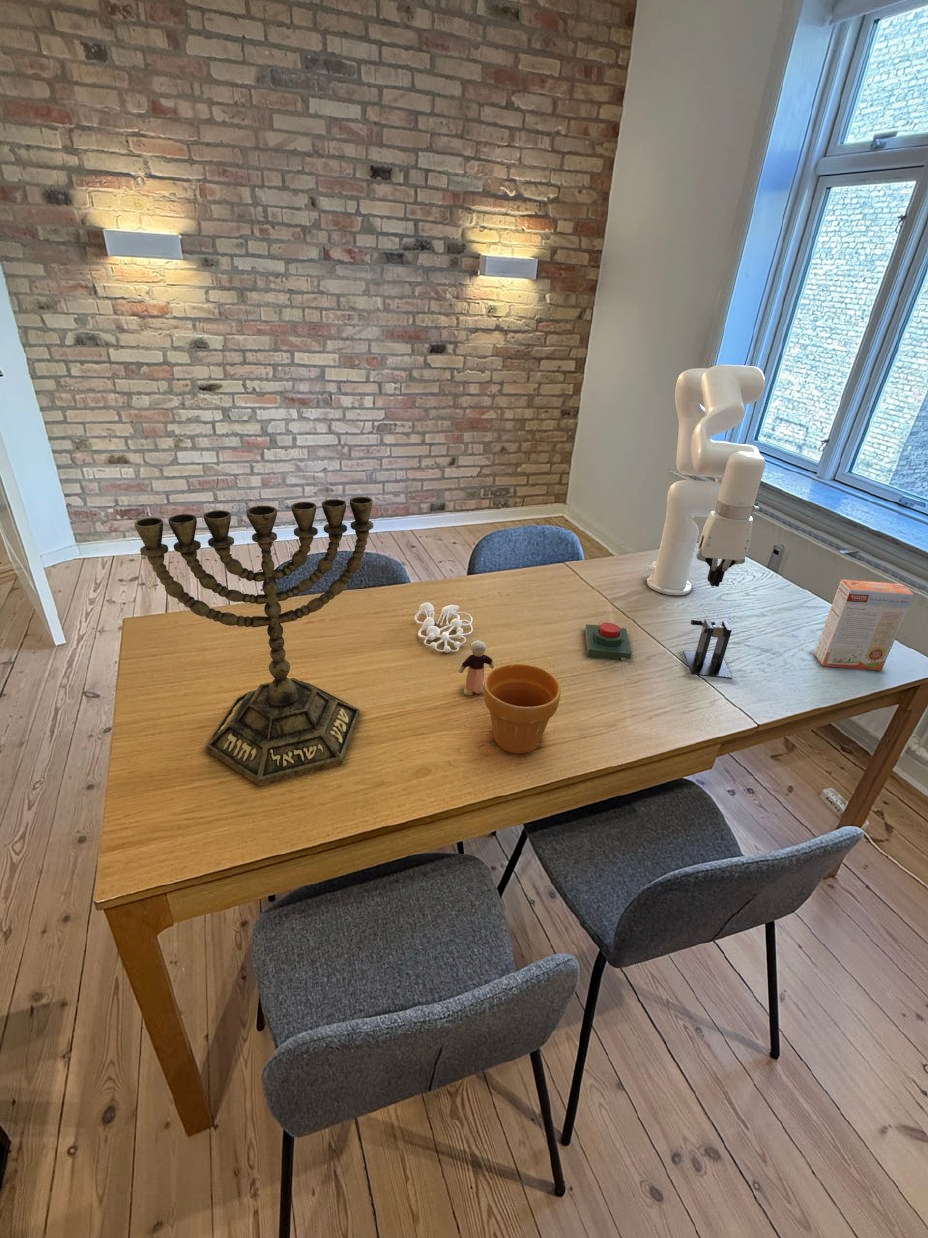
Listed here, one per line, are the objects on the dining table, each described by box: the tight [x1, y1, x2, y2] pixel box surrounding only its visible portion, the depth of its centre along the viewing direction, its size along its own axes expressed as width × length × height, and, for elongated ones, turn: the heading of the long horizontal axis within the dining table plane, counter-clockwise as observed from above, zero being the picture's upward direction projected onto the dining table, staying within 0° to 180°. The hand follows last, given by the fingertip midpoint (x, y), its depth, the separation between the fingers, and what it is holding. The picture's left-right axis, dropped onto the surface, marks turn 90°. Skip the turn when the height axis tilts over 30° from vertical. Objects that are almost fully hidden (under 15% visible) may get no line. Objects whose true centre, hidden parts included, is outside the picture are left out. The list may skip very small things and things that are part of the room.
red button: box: [599, 622, 621, 638], centre depth 154 cm, size 5×5×2 cm
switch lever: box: [690, 619, 724, 639], centre depth 150 cm, size 13×6×2 cm, turn 173°
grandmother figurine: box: [458, 639, 495, 697], centre depth 135 cm, size 8×4×13 cm, turn 118°
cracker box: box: [813, 579, 915, 672], centre depth 150 cm, size 14×6×21 cm, turn 84°
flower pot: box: [483, 663, 562, 754], centre depth 122 cm, size 14×14×13 cm
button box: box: [584, 624, 632, 661], centre depth 156 cm, size 12×10×4 cm
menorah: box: [133, 496, 374, 787], centre depth 112 cm, size 36×25×45 cm
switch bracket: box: [683, 618, 733, 680], centre depth 147 cm, size 10×9×12 cm
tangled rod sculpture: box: [414, 602, 474, 654], centre depth 157 cm, size 19×14×4 cm
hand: (713, 583), depth 151 cm, fingers closed
